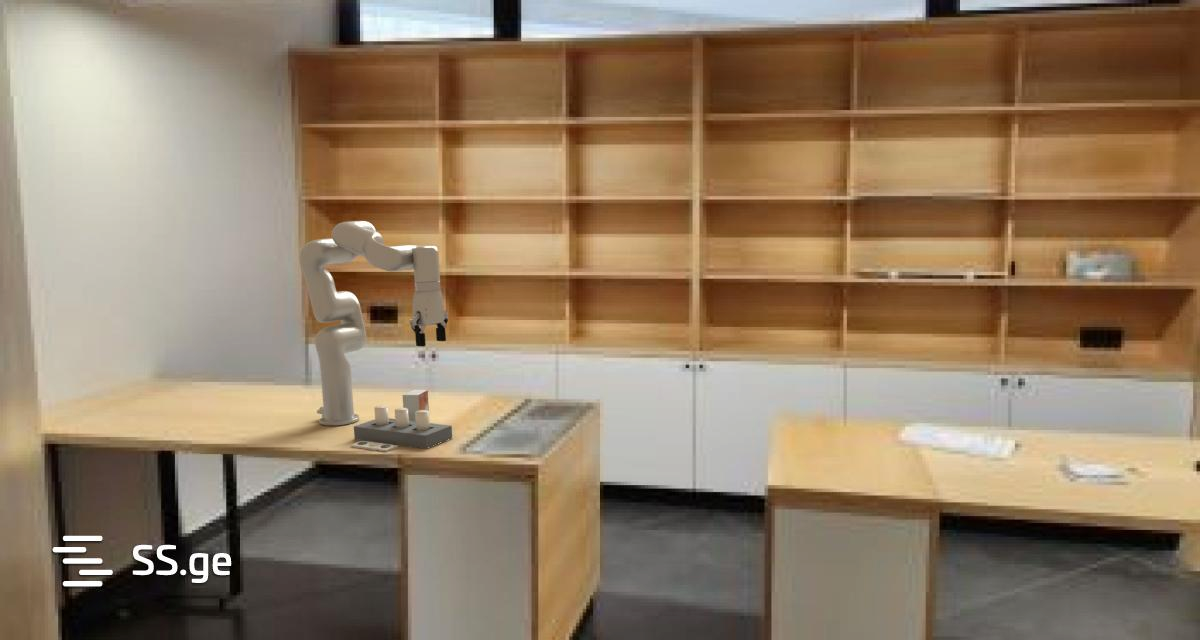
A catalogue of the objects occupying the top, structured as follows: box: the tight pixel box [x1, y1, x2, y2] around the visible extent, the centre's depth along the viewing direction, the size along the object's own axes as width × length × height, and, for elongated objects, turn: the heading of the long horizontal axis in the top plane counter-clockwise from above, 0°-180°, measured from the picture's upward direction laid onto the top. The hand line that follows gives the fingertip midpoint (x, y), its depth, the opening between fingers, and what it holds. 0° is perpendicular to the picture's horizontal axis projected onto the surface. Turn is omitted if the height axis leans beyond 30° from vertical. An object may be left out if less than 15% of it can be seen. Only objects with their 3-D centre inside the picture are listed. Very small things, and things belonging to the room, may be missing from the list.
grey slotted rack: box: [353, 417, 453, 449], centre depth 281 cm, size 28×12×4 cm, turn 61°
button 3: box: [415, 410, 431, 431], centre depth 276 cm, size 4×4×7 cm
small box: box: [402, 389, 430, 421], centre depth 298 cm, size 8×6×10 cm
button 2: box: [394, 407, 409, 429], centre depth 280 cm, size 4×4×7 cm
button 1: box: [374, 405, 390, 426], centre depth 284 cm, size 4×4×7 cm
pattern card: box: [349, 440, 399, 452], centre depth 273 cm, size 14×5×1 cm, turn 61°
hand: (431, 343), depth 280 cm, fingers open, 9 cm apart
